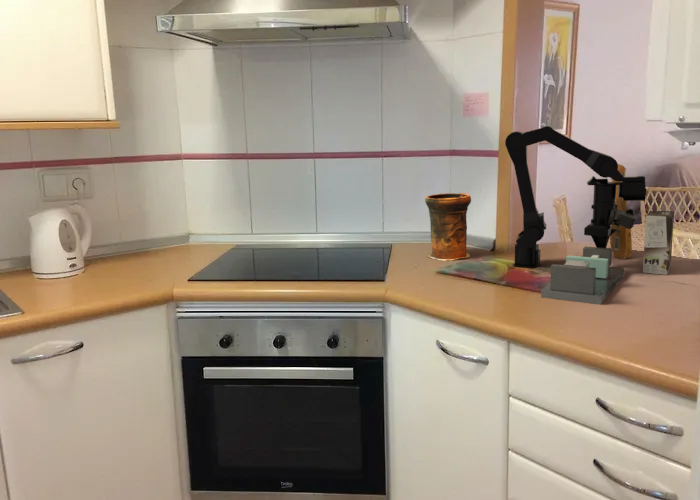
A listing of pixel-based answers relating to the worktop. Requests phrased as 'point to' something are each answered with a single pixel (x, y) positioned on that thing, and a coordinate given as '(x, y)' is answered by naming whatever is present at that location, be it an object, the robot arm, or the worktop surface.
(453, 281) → the worktop surface
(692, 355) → the worktop surface
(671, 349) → the worktop surface
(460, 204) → the vessel
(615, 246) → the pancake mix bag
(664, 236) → the coffee box
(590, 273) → the press
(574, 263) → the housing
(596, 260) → the ram
